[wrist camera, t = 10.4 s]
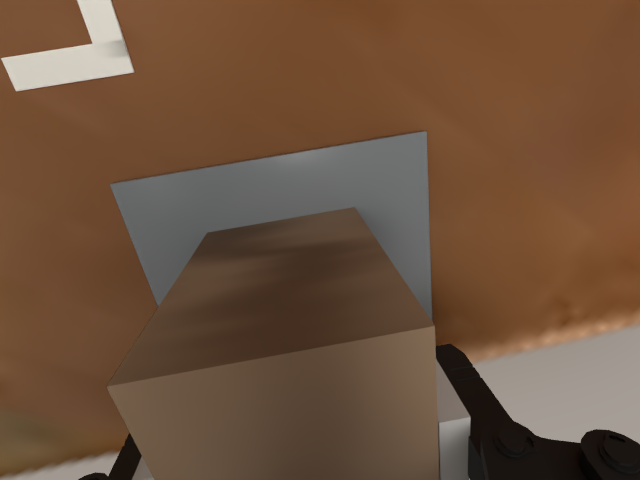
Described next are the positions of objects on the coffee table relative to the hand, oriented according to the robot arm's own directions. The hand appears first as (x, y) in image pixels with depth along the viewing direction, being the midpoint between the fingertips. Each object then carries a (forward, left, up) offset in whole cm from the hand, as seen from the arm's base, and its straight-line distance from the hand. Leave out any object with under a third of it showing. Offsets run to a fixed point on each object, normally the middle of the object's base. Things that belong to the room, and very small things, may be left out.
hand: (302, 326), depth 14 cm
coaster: (0, 0, -1) cm, 1 cm away
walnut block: (0, 0, -1) cm, 1 cm away
